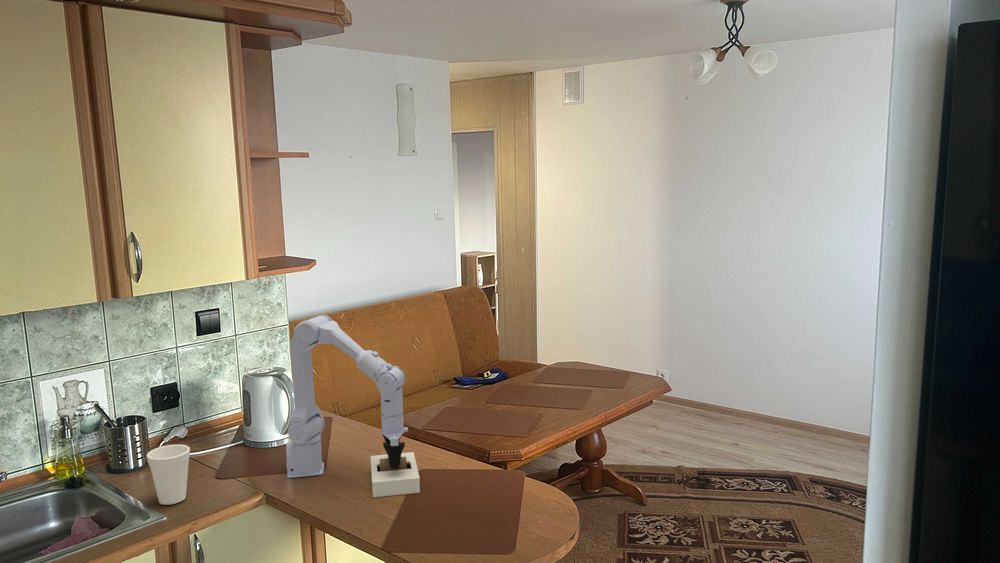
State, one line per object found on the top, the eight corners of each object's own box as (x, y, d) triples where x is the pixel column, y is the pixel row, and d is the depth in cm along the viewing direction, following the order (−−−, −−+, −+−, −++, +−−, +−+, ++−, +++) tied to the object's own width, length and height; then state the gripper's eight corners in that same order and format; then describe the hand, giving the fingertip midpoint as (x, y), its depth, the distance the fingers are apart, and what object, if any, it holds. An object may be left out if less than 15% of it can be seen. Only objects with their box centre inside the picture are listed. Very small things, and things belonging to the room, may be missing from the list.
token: (380, 484, 187) (379, 463, 186) (380, 480, 190) (379, 458, 189) (407, 482, 188) (406, 460, 187) (406, 477, 191) (405, 456, 190)
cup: (167, 512, 172) (163, 462, 170) (141, 504, 177) (137, 454, 175) (202, 496, 181) (198, 448, 179) (177, 489, 185) (173, 441, 184)
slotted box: (372, 497, 179) (372, 482, 178) (371, 469, 197) (370, 455, 196) (420, 492, 181) (419, 477, 181) (414, 465, 199) (413, 452, 198)
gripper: (409, 421, 180) (411, 471, 182) (405, 403, 194) (406, 450, 196) (381, 423, 179) (383, 474, 181) (379, 405, 193) (381, 453, 195)
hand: (393, 462), depth 188 cm, fingers open, 7 cm apart
